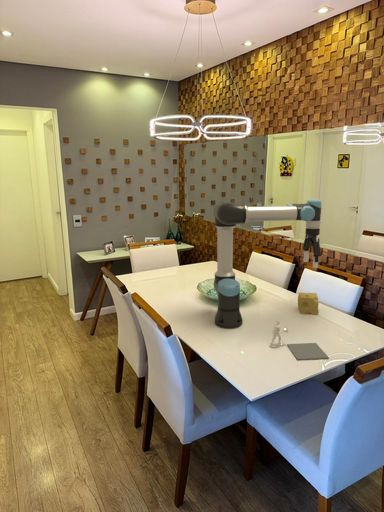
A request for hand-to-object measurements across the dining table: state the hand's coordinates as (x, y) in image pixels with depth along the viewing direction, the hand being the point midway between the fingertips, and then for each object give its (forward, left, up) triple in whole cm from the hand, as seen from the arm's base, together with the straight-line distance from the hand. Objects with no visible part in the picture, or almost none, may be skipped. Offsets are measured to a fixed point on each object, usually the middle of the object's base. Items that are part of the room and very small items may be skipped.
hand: (310, 264), depth 202 cm
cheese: (0, 0, -28) cm, 28 cm away
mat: (-19, -48, -28) cm, 59 cm away
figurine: (-30, -40, -28) cm, 58 cm away
